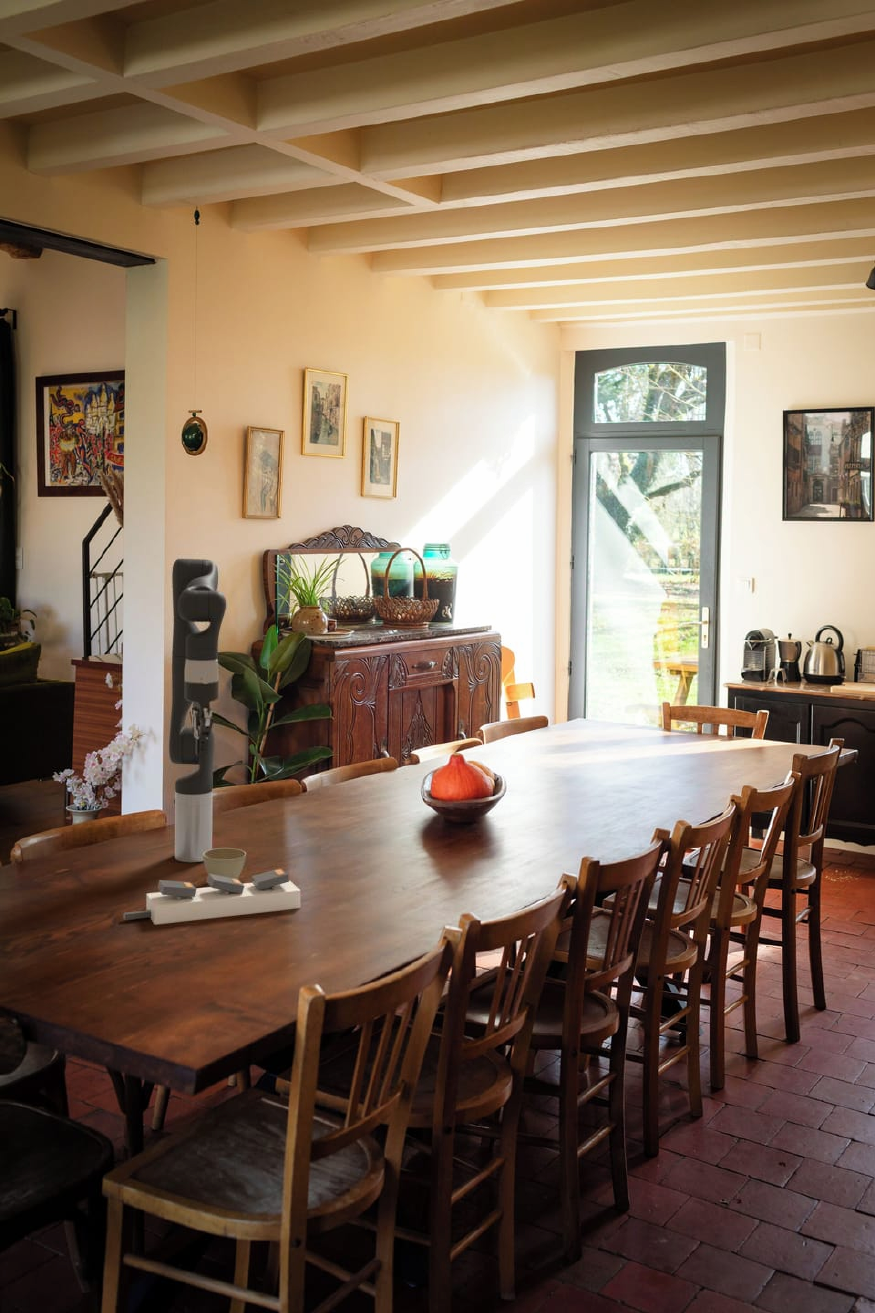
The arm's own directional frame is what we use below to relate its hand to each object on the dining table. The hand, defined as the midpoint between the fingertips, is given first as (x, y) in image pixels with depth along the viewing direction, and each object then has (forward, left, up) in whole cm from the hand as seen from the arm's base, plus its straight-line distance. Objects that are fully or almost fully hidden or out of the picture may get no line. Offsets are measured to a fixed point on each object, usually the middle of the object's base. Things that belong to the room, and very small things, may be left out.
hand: (201, 754), depth 265 cm
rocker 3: (+14, +12, -27) cm, 33 cm away
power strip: (+14, -1, -32) cm, 35 cm away
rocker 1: (+14, -8, -27) cm, 31 cm away
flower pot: (-5, +7, -32) cm, 33 cm away
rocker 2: (+14, +2, -27) cm, 30 cm away
